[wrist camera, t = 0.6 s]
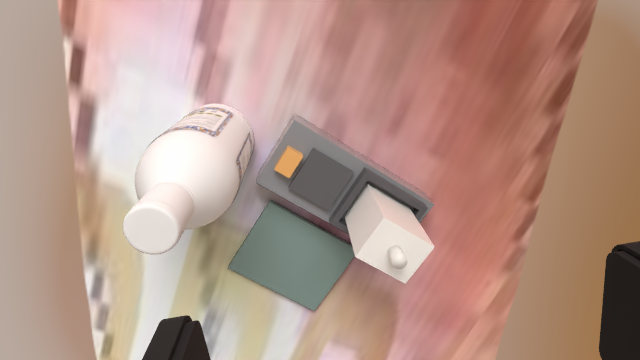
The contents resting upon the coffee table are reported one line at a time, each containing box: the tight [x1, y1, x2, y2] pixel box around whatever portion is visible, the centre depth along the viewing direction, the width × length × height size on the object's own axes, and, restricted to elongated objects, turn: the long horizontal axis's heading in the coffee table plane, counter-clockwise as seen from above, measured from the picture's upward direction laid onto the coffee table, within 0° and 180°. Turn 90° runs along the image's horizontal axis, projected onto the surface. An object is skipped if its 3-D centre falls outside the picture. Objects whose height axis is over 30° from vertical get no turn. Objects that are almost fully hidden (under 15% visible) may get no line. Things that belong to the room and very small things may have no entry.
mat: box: [228, 200, 355, 311], centre depth 45 cm, size 9×11×1 cm
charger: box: [344, 182, 434, 284], centre depth 36 cm, size 4×5×10 cm
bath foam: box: [123, 104, 254, 254], centre depth 31 cm, size 7×7×20 cm
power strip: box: [256, 114, 434, 234], centre depth 40 cm, size 7×16×4 cm, turn 58°
